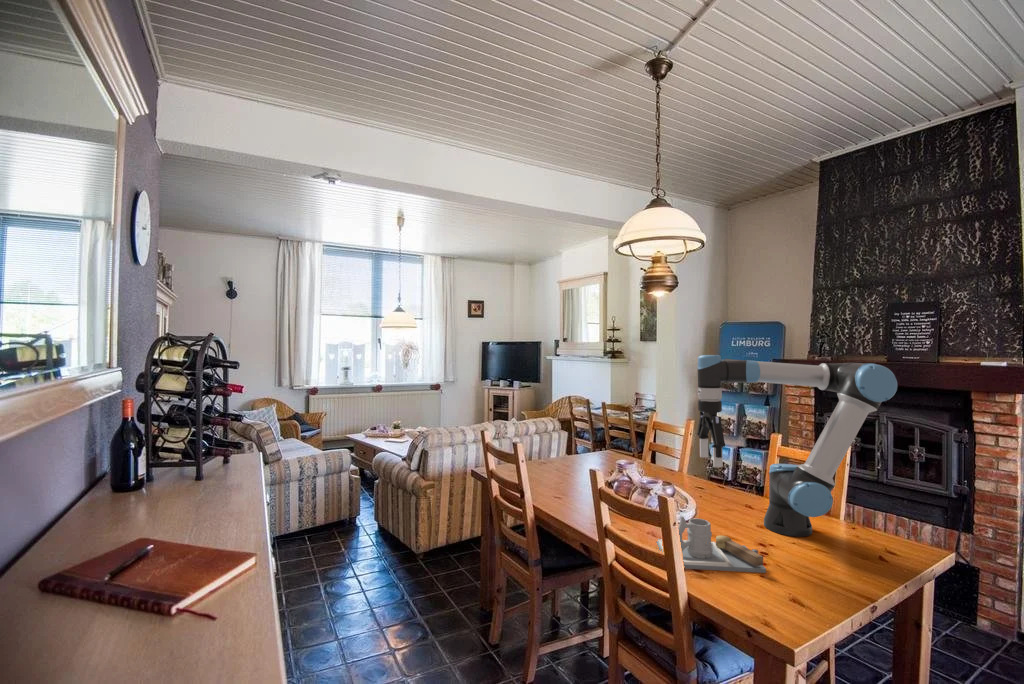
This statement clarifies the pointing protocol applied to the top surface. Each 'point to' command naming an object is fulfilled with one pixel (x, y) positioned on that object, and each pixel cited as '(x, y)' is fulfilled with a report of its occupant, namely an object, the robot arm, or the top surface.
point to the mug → (696, 537)
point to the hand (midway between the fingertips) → (710, 462)
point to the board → (718, 560)
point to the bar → (739, 550)
